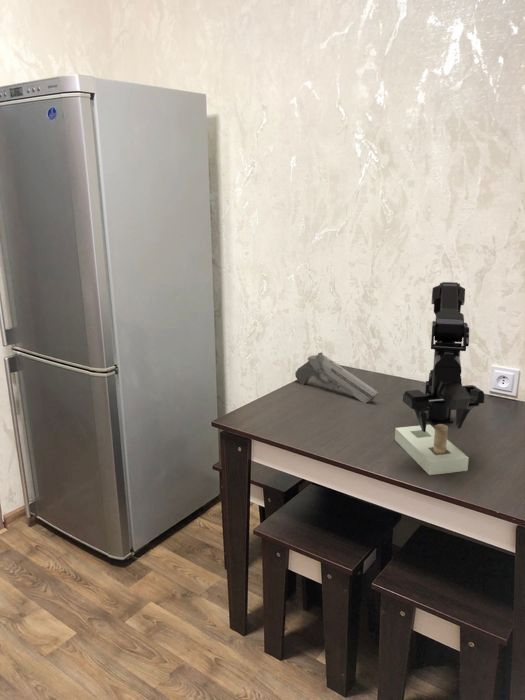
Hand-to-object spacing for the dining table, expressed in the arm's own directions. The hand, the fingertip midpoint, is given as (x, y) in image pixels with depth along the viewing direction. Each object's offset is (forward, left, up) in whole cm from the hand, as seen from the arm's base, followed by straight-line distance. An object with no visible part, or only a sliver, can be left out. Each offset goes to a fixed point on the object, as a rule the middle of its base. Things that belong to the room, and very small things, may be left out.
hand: (441, 429), depth 138 cm
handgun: (+10, -54, -10) cm, 56 cm away
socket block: (0, -5, -9) cm, 11 cm away
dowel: (0, 0, -9) cm, 9 cm away
